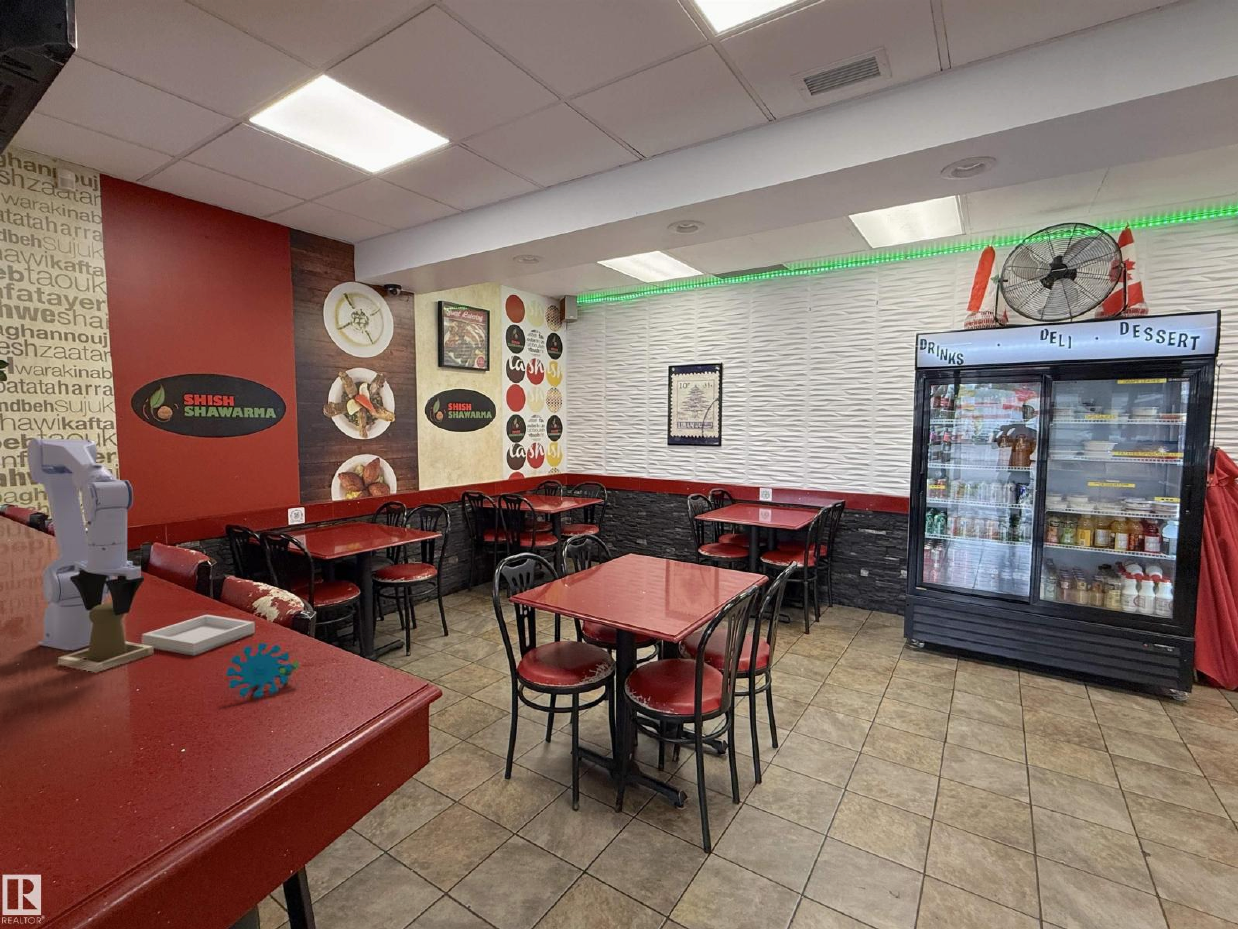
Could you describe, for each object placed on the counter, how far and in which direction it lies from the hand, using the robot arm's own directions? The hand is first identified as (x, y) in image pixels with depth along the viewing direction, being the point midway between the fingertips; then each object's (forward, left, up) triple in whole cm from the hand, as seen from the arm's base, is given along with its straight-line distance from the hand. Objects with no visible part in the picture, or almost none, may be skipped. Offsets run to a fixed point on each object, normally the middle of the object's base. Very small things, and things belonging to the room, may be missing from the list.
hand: (107, 611), depth 109 cm
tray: (+6, +14, -10) cm, 18 cm away
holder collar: (0, 0, -10) cm, 10 cm away
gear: (+38, 0, -10) cm, 39 cm away
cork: (0, 0, -10) cm, 10 cm away
